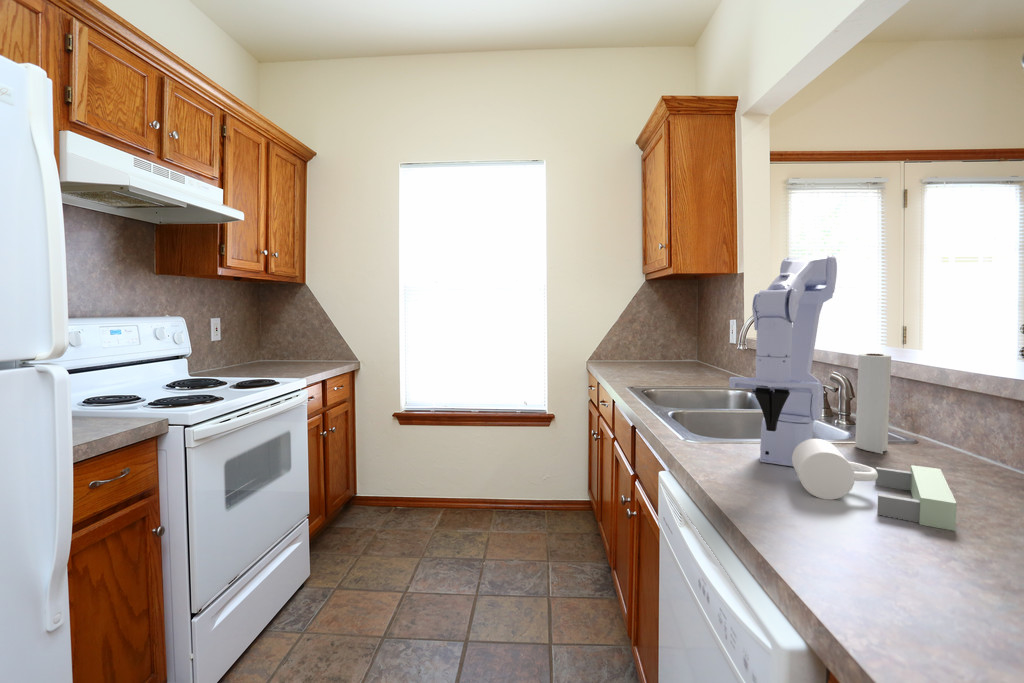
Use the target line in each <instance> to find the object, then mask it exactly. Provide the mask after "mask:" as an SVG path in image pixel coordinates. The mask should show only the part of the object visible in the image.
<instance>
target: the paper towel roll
mask: <svg viewBox="0 0 1024 683" xmlns="http://www.w3.org/2000/svg"><path fill="white" fill-rule="evenodd" d="M857 360H858V361H857V387H856V388H857V390H856V411H855V412H856V414H855V416H856V417H855V440H854V441H855V442H854V445H855V447H856V448H857V449H861V450H864V451H868V452H872V453H873V452H874V453H877V454H881V455H884V454H883V453H884V452H887V451H888V447H889V446H888V444H889V443H888V442H889V420H890V419H889V417H890V400H891V399H890V397H891V396H890V394H891V393H890V392H891V373H892V372H891V371H892V370H891V368H892V355H889V354H888V355H887V354H882V353H864V354H863V353H860V354H858V359H857Z"/></svg>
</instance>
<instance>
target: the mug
mask: <svg viewBox="0 0 1024 683" xmlns="http://www.w3.org/2000/svg"><path fill="white" fill-rule="evenodd" d="M792 463H793V466H794V467H793V469H794V471H795V473H796V474H797V477H798V479H799V481H800V483H801V485H802V487H803V488H804V489H805V490H806V491H807V492H808V493H809V494H811V495H812V496H814V497H816V498H818V499H822V500H829V501H830V500H832V501H833V500H839V499H840V498H843V497H845V496H846V495H848V494H849V493H850V492H851V491H852V490H853V487H854V485H855V482H872V481H876V479H877V478H878V473H877V471H876V468H874V467H871V466H868V465H866V464H863V463H862V464H861V463H859V462H858V463H857V462H853V461H848V460H847V459H846V458H845V456H844V455H843V454H842V453H841V452H840V451H839V449H838V448H837V447H836V446H835V445H834V444H833V443H831V442H830V441H828V440H825V439H820V438H813V439H809V440H805V441H803V442H801V443H800V444H799V445H798V446H797V447H796V448H795V449H794V451H793V454H792Z"/></svg>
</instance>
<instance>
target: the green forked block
mask: <svg viewBox="0 0 1024 683" xmlns="http://www.w3.org/2000/svg"><path fill="white" fill-rule="evenodd" d="M875 470H876V471H877V473H878V478H877V479H876V480H875V486H879V487H883V488H885V487H886V488H891V489H898V490H906V491H910V493H911V496H912V498H908V497H901V496H894V495H888V494H884V493H878V494H877V514H878V515H877V516H880V515H883V516H882V517H885V516H888V517H887V518H891V517H893V518H892V519H896V518H898V519H897V520H902V519H903V521H907V520H908V522H914V523H918V522H919V523H918V524H919V525H921V526H927V527H931V528H938V529H942V530H949V531H953V532H956V525H957V507H958V506H957V501H956V499H955V497H954V495H953V492H952V490H951V488H950V486H949V485H948V482H947V480H946V478H945V476H944V473H943V472H942V469H941V468H935V467H928V466H921V465H914V464H913V465H912V464H911V465H910V471H908V470H901V469H900V470H899V469H892V468H886V467H878V466H876V467H875Z"/></svg>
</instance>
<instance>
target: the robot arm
mask: <svg viewBox="0 0 1024 683" xmlns="http://www.w3.org/2000/svg"><path fill="white" fill-rule="evenodd" d="M837 272H838V263H837V258H836V257H835V256H834V255H833V254H828V255H819V256H818V255H817V256H805V257H801V256H800V257H785V258H784V259H783V260H782V261H781V263H780V268H779V275H778V276H777V277H775V279H774V280H773V281H772V282H771V284H770V285H769V286H768V287H767V288H766V289H764V290H760V291H759V292H757V293H755V294H754V296H753V299H752V304H751V305H752V307H751V308H752V316H753V329H754V330H755V331H756V341H755V342H756V344H755V345H756V346H755V348H756V350H755V352H756V353H755V377H745V376H744V377H743V376H731V377H729V379H728V380H729V381H728V382H729V384H728V385H729V386H728V387H729V389H746V390H747V389H748V390H755V393H754V395H755V398H756V400H757V402H758V405H759V406H760V409H761V412H762V414H763V418H762V421H761V426H760V427H761V428H760V445H759V446H760V447H759V449H760V450H759V451H760V452H759V453H760V456H759V462H761V463H768V464H773V465H779V466H787V467H793V468H794V466H793V463H792V454H793V451H794V449H795V448H796V447H797V446H798V445H799V444H800V443H801V442H803V441H805V440H809V439H814V422H815V421H818V420H819V419H821V417H822V415H823V411H824V391H825V390H824V386H823V383H822V382H821V380H819V379H818V378H816V377H815V376H814V375H813V374H812V368H813V367H812V366H813V359H814V353H815V346H816V341H817V340H816V339H817V333H818V326H819V322H820V315H821V310H822V309H823V305H824V303H825V302H827V301H828V300H831V299H833V296H834V295H833V294H834V293H835V289H836V282H837V276H838V273H837Z"/></svg>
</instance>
